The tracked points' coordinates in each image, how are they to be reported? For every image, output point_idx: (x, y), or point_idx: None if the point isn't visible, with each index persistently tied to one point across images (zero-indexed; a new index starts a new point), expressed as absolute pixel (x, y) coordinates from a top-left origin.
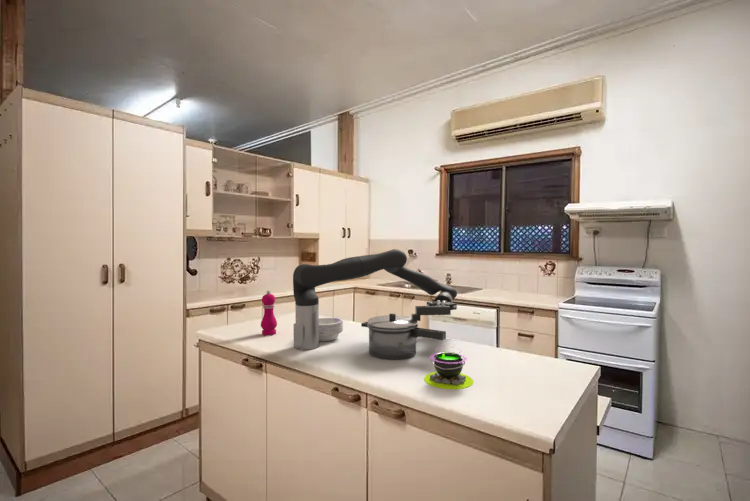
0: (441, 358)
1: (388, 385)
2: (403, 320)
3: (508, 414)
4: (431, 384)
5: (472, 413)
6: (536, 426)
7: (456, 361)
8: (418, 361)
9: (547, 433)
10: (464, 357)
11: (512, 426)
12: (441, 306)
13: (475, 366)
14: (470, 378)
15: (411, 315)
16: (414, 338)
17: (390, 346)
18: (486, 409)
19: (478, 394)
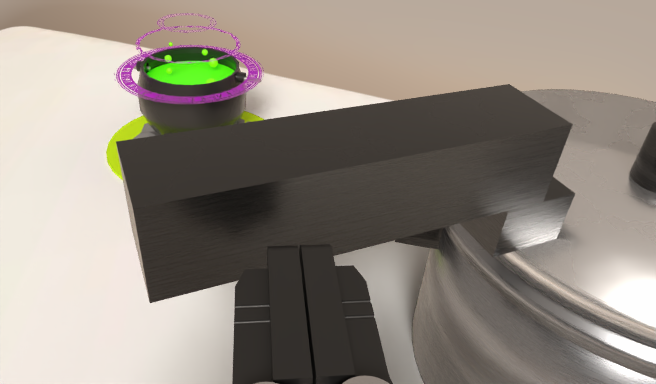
0: (217, 62)
1: (368, 101)
2: (581, 192)
3: (64, 54)
4: (249, 115)
5: (146, 50)
6: (24, 37)
7: (162, 57)
8: (355, 265)
9: (15, 28)
10: (125, 77)
11: (75, 34)
12: (250, 149)
13: (49, 269)
14: (112, 159)
15: (569, 207)
16: (432, 255)
17: None
18: (110, 60)
19: (111, 97)
